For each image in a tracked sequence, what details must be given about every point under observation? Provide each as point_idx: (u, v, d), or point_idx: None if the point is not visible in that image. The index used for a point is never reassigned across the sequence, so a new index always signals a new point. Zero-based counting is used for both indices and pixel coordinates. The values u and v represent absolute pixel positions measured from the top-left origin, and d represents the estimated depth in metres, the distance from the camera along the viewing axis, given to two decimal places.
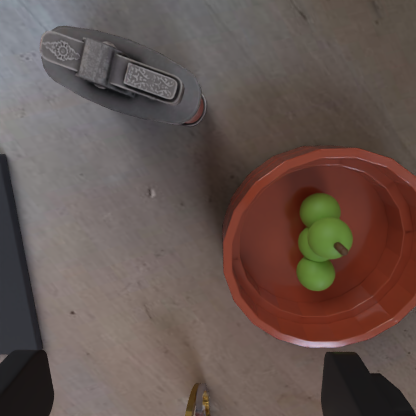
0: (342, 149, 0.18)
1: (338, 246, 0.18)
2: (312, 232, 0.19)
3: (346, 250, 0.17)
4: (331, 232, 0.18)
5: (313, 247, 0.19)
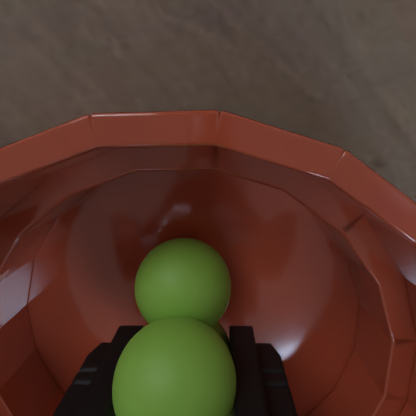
0: (165, 115, 0.05)
1: None
2: None
3: None
4: (148, 393, 0.06)
5: None
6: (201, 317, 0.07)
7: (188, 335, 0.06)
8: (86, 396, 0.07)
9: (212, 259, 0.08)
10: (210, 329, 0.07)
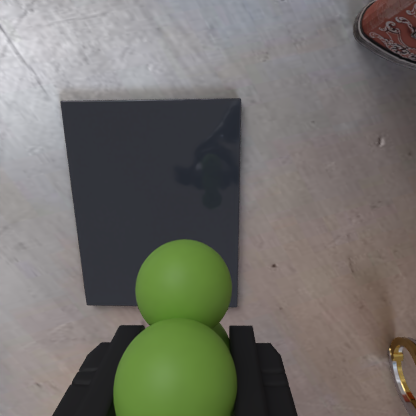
0: None
1: None
2: (118, 373, 0.06)
3: None
4: (149, 396, 0.06)
5: None
6: (202, 319, 0.07)
7: (189, 337, 0.06)
8: (86, 396, 0.07)
9: (213, 261, 0.08)
10: (211, 331, 0.07)
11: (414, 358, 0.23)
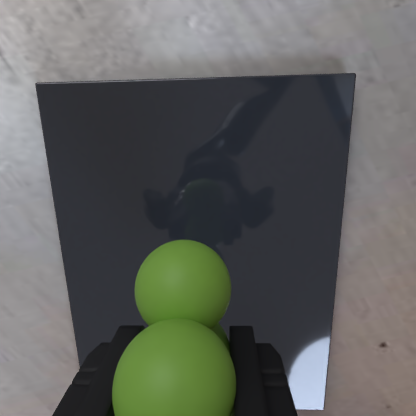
0: None
1: None
2: (117, 373, 0.06)
3: None
4: (148, 396, 0.06)
5: None
6: (201, 319, 0.07)
7: (188, 338, 0.06)
8: (86, 396, 0.07)
9: (212, 261, 0.08)
10: (210, 331, 0.07)
11: None
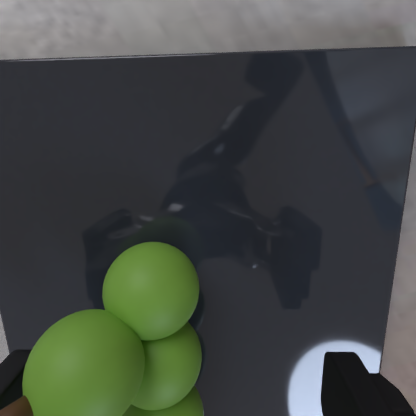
0: None
1: None
2: None
3: None
4: (29, 361, 0.07)
5: None
6: (129, 323, 0.07)
7: (82, 331, 0.07)
8: None
9: (158, 271, 0.08)
10: (116, 336, 0.07)
11: None
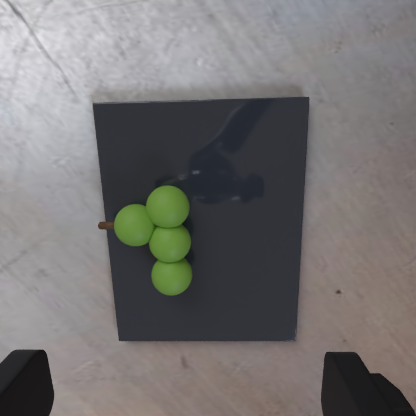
0: None
1: (108, 222, 0.20)
2: None
3: (98, 224, 0.20)
4: None
5: None
6: (147, 212, 0.19)
7: (130, 207, 0.19)
8: None
9: (157, 194, 0.18)
10: (137, 212, 0.18)
11: None
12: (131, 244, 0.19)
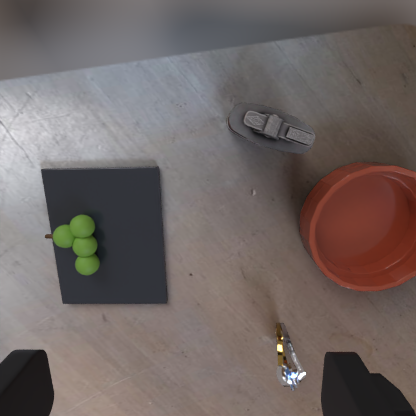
0: (386, 166, 0.30)
1: (50, 234, 0.36)
2: None
3: (45, 235, 0.35)
4: None
5: None
6: (69, 229, 0.35)
7: (61, 226, 0.35)
8: None
9: (74, 220, 0.34)
10: (64, 229, 0.34)
11: (277, 335, 0.35)
12: (62, 247, 0.35)
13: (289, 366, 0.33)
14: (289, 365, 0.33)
